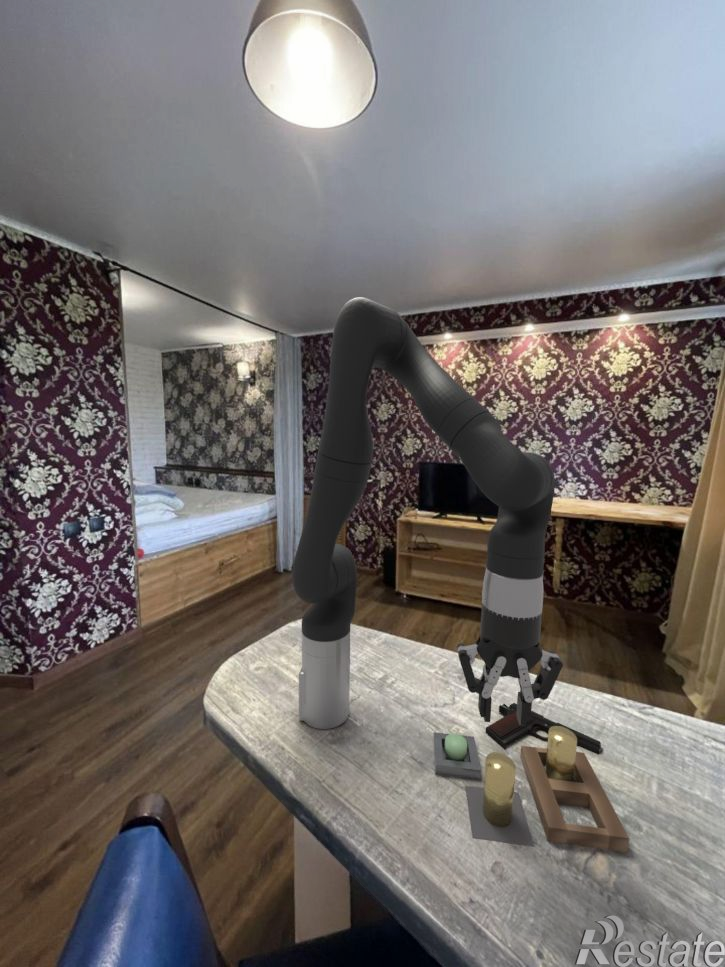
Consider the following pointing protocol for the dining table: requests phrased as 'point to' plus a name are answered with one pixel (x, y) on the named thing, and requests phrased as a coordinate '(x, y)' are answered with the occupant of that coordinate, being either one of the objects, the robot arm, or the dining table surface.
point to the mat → (487, 831)
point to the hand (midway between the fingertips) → (503, 719)
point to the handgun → (530, 729)
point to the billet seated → (561, 754)
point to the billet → (498, 789)
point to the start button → (455, 747)
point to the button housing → (456, 768)
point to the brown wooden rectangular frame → (573, 803)
